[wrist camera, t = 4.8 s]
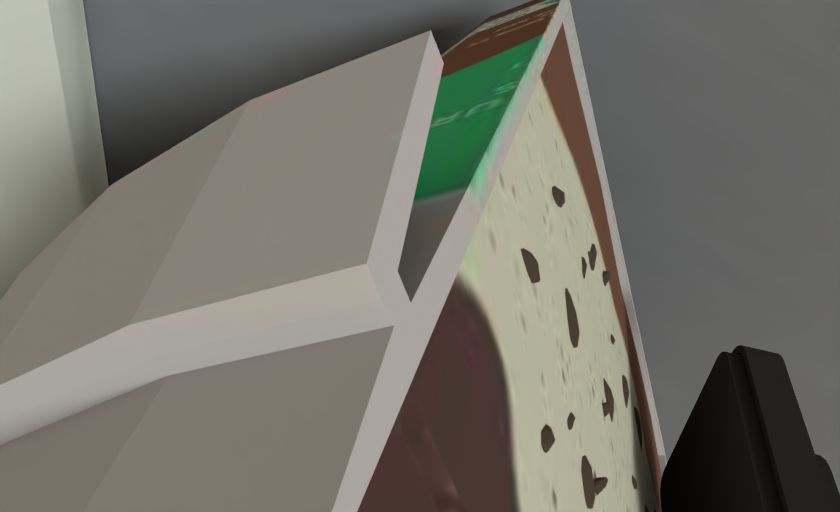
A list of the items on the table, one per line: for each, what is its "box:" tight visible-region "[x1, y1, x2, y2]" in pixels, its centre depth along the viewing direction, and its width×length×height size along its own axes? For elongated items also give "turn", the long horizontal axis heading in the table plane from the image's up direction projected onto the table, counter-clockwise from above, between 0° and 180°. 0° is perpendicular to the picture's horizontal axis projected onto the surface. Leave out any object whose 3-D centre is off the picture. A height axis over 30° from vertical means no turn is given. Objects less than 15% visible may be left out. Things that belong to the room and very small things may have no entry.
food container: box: [0, 0, 667, 512], centre depth 9 cm, size 12×6×10 cm, turn 18°
